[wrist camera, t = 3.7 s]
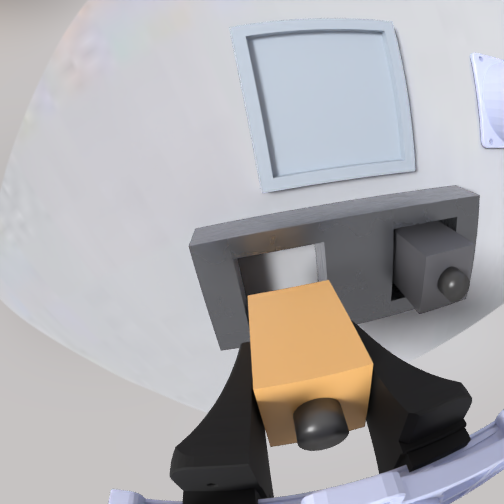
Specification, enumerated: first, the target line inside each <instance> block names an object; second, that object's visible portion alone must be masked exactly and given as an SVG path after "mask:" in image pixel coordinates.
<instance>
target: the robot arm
mask: <svg viewBox="0 0 504 504" xmlns="http://www.w3.org/2000/svg"><path fill="white" fill-rule="evenodd" d="M470 57H471V62H472V67H473V73H474V79H475V85H476V92H477V99H478V107H479V117H480V129H481V143H482V146H483V147H486V148H504V60H501V59H498V58H494V57H491V56H487V55H483V54H479V53H471V55H470ZM479 58H480V60H479ZM489 141H490V143H489ZM351 322H352V323H353V325H354V327H355V329H356V331H357V333H358V335H359V337H360V339H361V341H362V342H363V344H364V346H365V348H366V350H367V352H368V354H369V356H370V358H371V360H372V362H373V372H372V380H371V388H370V396H369V403H368V410H367V416H366V421H367V425H368V428H369V432H370V436H371V439H372V443H373V447H374V451H375V455H376V460H377V464H378V470H379V474H378V475H375V476H372V477H368V478H365V479H362V480H358V481H355V482H351V483H347V484H343V485H339V486H335V487H331V488H326V489H323V490H317V491H312V492H307V493H302V494H296V495H290V496H282V497H275V498H274V496H273V489H272V482H271V475H270V468H269V460H268V452H267V445H266V436H265V427H264V424H263V420H262V417H261V414H260V410H259V407H258V404H257V400H256V397H255V394H254V390H253V376H252V360H251V344H250V342H244V343H241V345H240V348H239V352H238V356H237V359H236V361H235V364H234V367H233V369H232V372H231V374H230V377H229V379H228V381H227V383H226V385H225V387H224V389H223V391H222V393H221V394H220V396H219V398H218V399H217V401H216V403H215V404H214V406H213V407H212V408H211V410H210V411H209V413H208V414H207V415H206V417H205V418H204V419H203V420H202V422H201V423H200V424H199V425H198V426H197V427H196V428H195V429H194V431H193V432H192V433H191V434H190V435H189V436H187V437H186V438H185V439H184V440H183V441H182V442H181V443H180V444H179V445H177V446H176V447H175V450H174V453H173V457H172V461H171V468H170V477H171V479H172V480H173V481H174V482H175V483H176V484H177V485H178V486H179V487H180V488H181V489H182V490H183V491H184V492H183V501H165V500H164V501H163V500H152V499H145V498H144V497H143V496H142V495H140V494H139V493H136V492H132V491H124V490H118V489H111V493H110V498H109V503H108V504H450V503H452V502H454V501H455V500H457V499H459V498H461V497H462V496H464V495H466V494H467V493H469V492H470V491H472V490H474V489H475V488H477V487H478V486H480V485H482V484H483V483H485V482H486V481H488V480H489V479H490V478H492V477H493V476H495V475H496V474H498V473H499V472H501V471H502V470H503V469H504V409H503V410H502V411H501V412H500V413H499V415H498V416H497V418H496V419H495V421H494V422H492V423H490V424H489V425H487V426H485V427H484V428H482V429H480V430H478V431H477V432H475V433H473V434H471V435H469V434H468V432H467V431H466V429H465V427H466V422H465V420H464V417H465V415H466V413H467V411H468V410H469V408H470V405H471V403H472V397H471V396H470V394H469V393H468V391H467V389H466V388H465V387H464V386H463V384H462V383H460V382H456V381H452V380H448V379H444V378H441V377H438V376H435V375H432V374H430V373H427V372H425V371H423V370H420V369H418V368H416V367H414V366H412V365H410V364H408V363H406V362H405V361H403V360H401V359H400V358H398V357H396V356H395V355H393V354H392V353H391V352H389V351H388V350H386V349H385V348H384V347H382V346H381V345H380V344H379V343H377V342H376V341H375V340H374V339H373V338H371V337H370V336H369V335H368V334H367V333H366V332H365V331H363V330H362V329H361V328H360V327H359V326H358V325H357V324H356V323H355V322H353V321H351Z"/></svg>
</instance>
